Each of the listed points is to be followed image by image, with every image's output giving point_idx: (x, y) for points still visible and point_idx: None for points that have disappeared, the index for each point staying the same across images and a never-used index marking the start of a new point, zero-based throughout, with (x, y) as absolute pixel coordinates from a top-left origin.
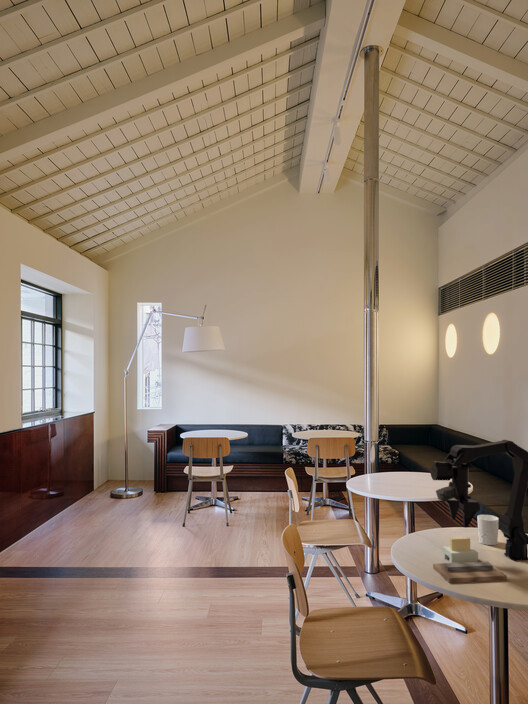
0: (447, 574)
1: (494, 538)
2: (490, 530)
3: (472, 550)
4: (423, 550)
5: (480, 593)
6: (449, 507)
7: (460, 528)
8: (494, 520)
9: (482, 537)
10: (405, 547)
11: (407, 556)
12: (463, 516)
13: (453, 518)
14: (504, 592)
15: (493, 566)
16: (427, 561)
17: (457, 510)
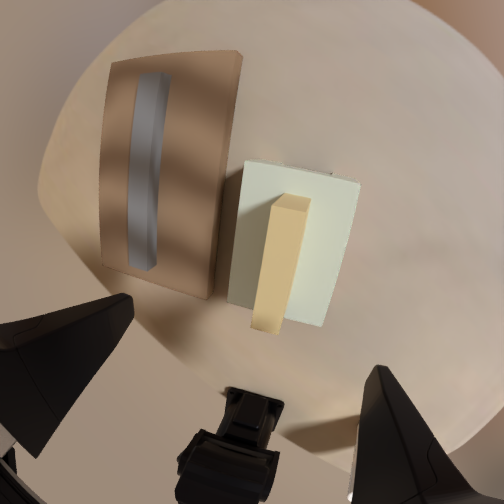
0: (133, 66)
1: (356, 442)
2: None
3: (254, 296)
4: (451, 147)
5: (65, 129)
6: (427, 466)
7: (493, 413)
8: (348, 494)
9: None
10: (494, 99)
11: (398, 29)
12: (32, 327)
13: (372, 379)
14: (62, 196)
15: (162, 283)
16: (322, 71)
17: (356, 477)
